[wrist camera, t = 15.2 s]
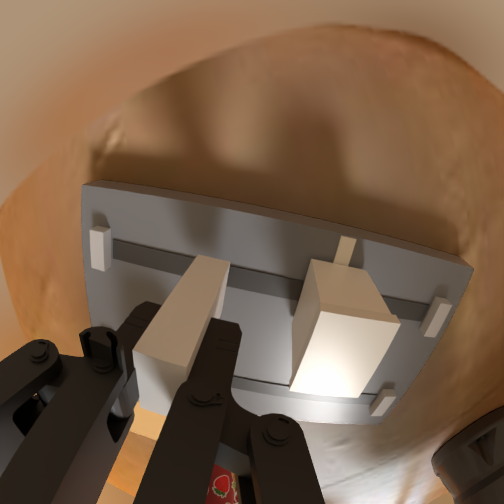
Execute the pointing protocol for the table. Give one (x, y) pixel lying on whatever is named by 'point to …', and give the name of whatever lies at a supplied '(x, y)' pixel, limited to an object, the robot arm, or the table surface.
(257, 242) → the fader console
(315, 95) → the table surface
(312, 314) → the cream fader
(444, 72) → the table surface
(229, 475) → the smoothie
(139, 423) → the orange fader
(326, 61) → the table surface
